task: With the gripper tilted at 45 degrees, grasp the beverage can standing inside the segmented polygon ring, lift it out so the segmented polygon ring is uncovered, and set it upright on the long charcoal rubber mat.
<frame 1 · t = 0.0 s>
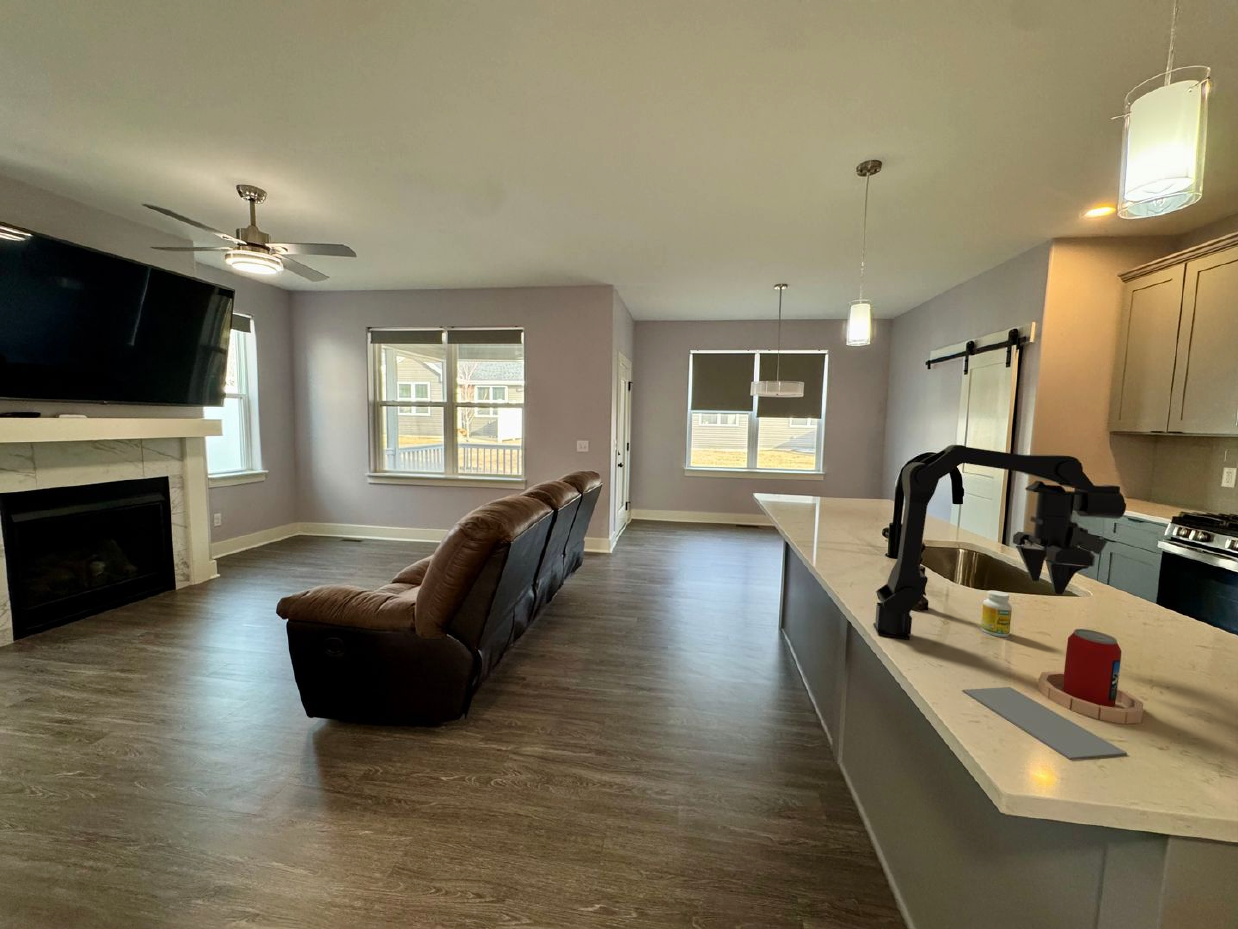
hand: (1046, 587, 102), 15 cm above the countertop, tool pointing down, fingers open, 9 cm apart
mat: (1036, 719, 79), on the countertop
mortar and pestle: (913, 607, 130), on the countertop
segmented polygon ring: (1087, 700, 85), on the countertop
supplement bottle: (994, 633, 114), on the countertop
beverage can: (1087, 702, 85), resting in segmented polygon ring
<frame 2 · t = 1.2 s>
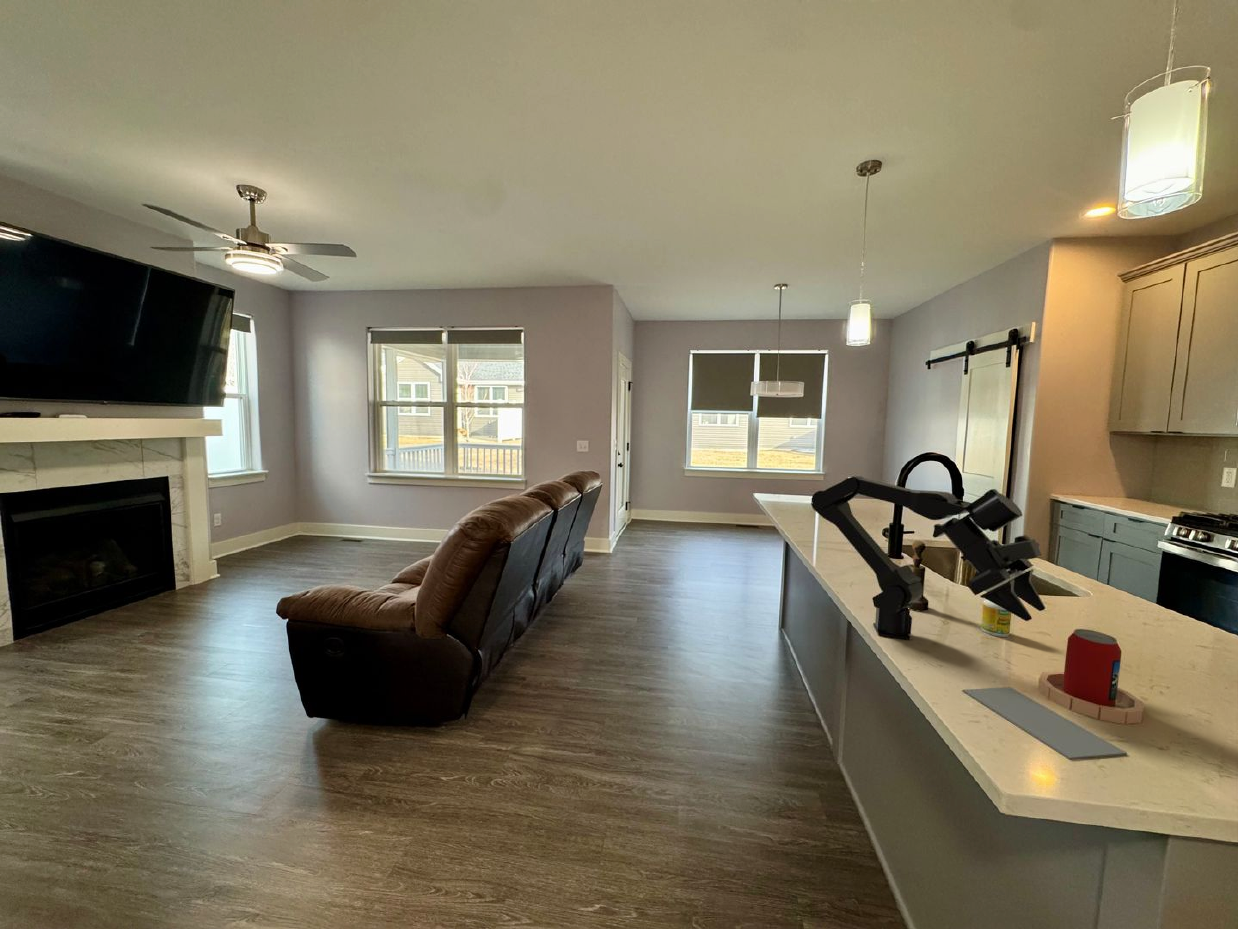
hand: (1036, 614, 91), 13 cm above the countertop, tool tilted 45°, fingers open, 9 cm apart
nothing on the countertop moved.
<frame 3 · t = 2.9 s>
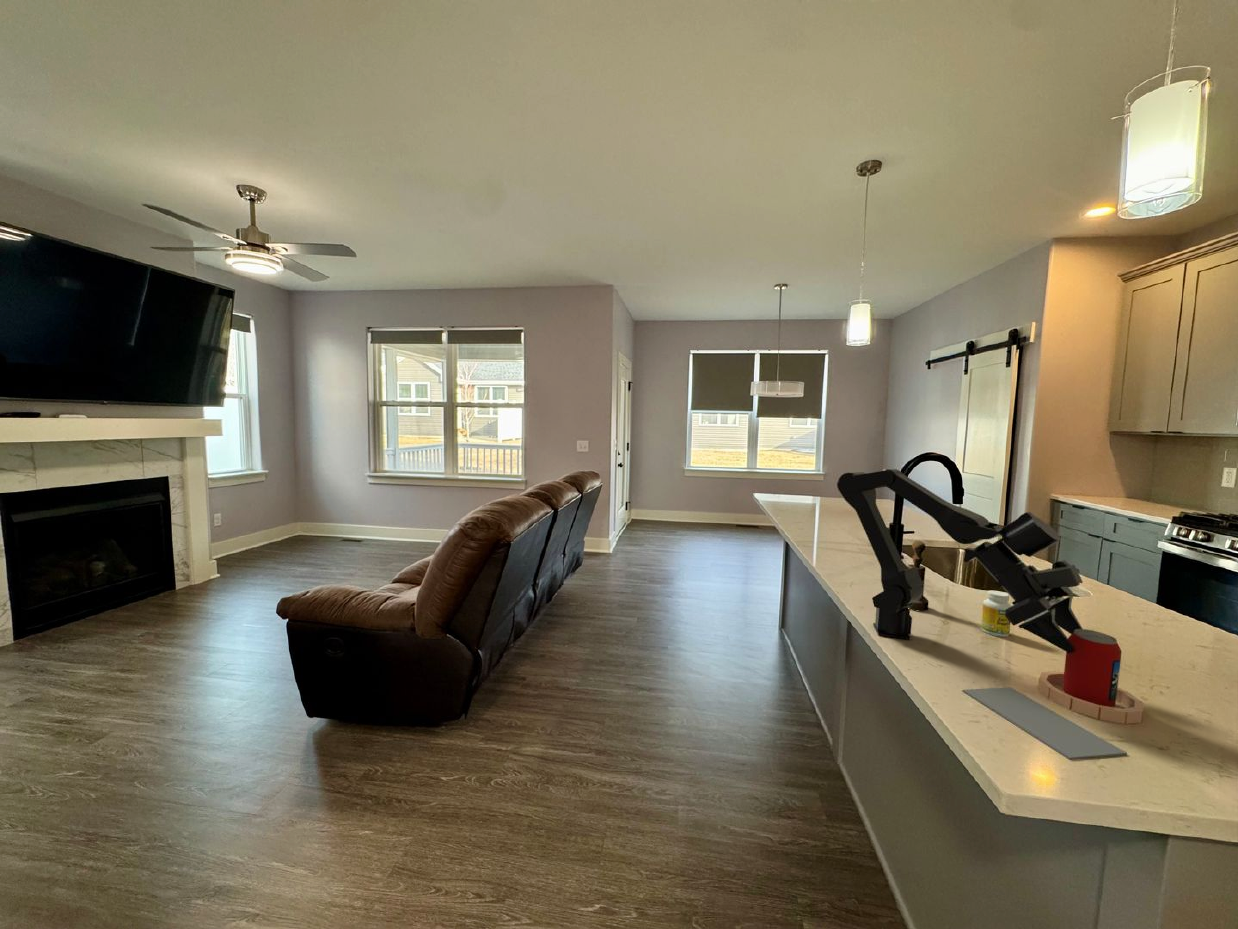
hand: (1079, 645, 86), 9 cm above the countertop, tool tilted 45°, fingers open, 9 cm apart
nothing on the countertop moved.
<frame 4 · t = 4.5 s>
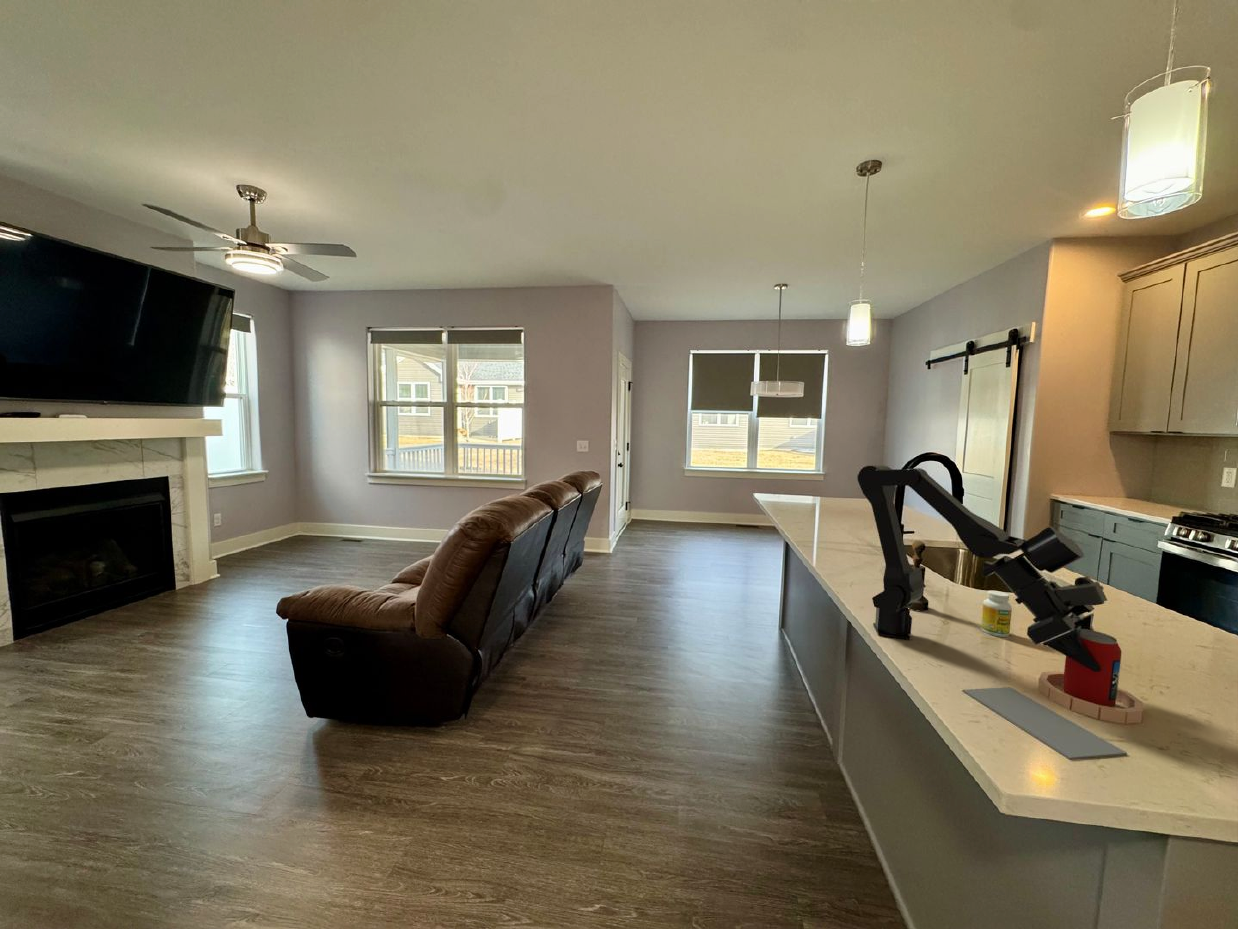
hand: (1103, 665, 83), 7 cm above the countertop, tool tilted 45°, fingers closed on beverage can, 7 cm apart
beverage can: (1087, 702, 85), resting in segmented polygon ring, touching gripper
everything else where it was.
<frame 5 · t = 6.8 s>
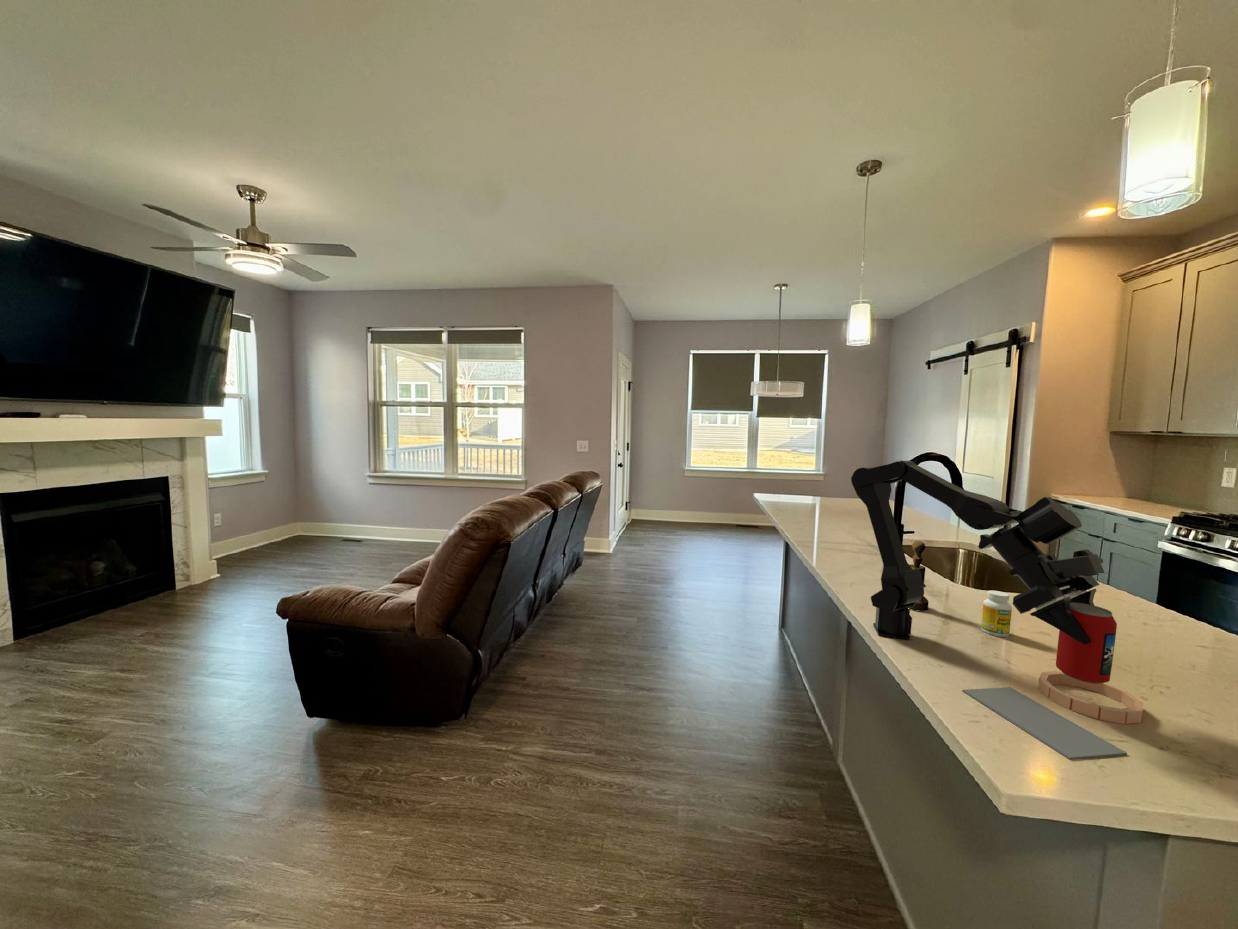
hand: (1097, 639, 80), 13 cm above the countertop, tool tilted 45°, fingers closed on beverage can, 7 cm apart
beverage can: (1081, 677, 82), point 5 cm above the countertop, touching gripper
everything else where it was.
when the fingers open (8 cm above the countertop, at t = 9.4 s): beverage can stays where it is, resting on mat.
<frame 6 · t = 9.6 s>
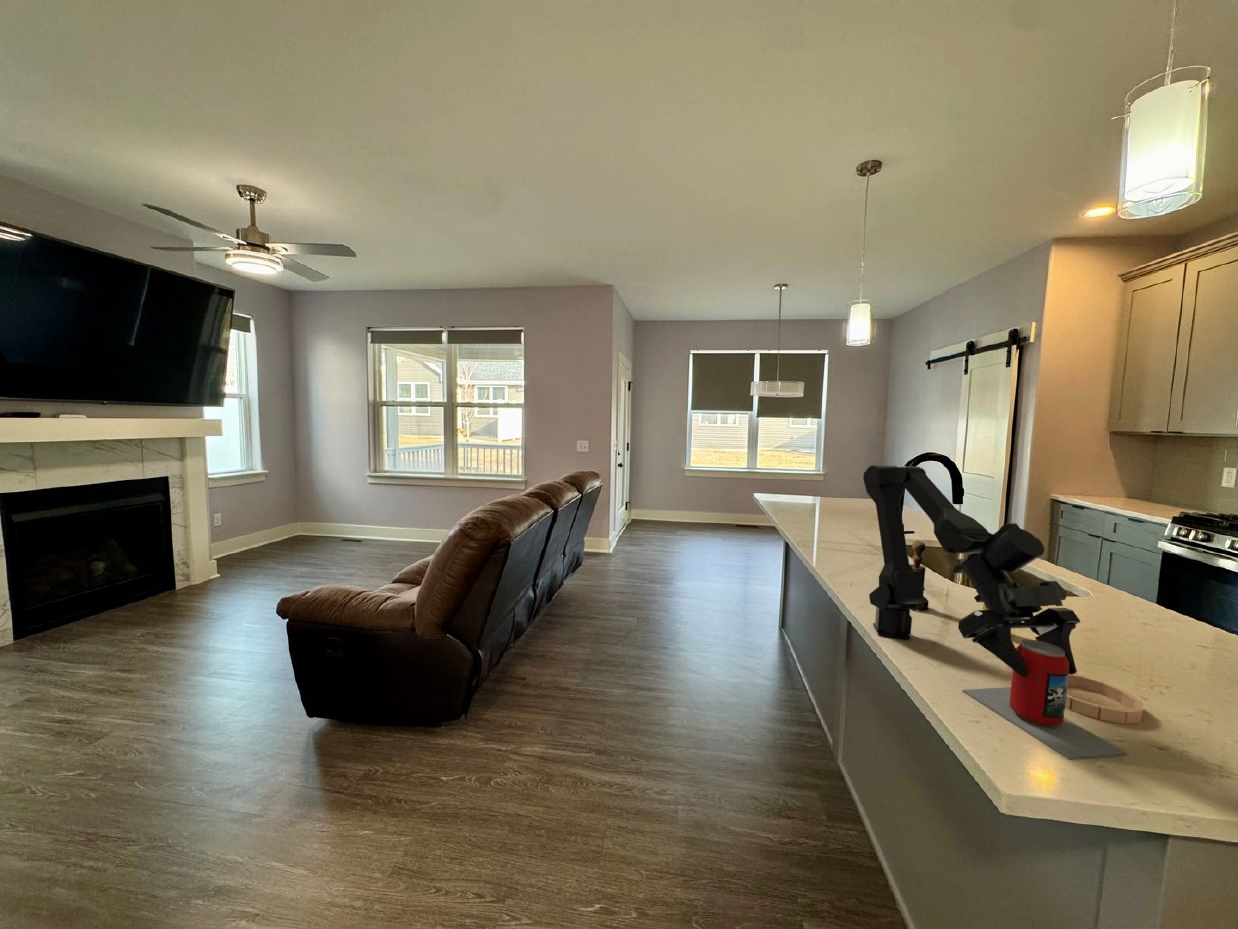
hand: (1050, 675, 77), 8 cm above the countertop, tool tilted 45°, fingers open, 9 cm apart
beverage can: (1034, 718, 79), resting on mat
everything else where it was.
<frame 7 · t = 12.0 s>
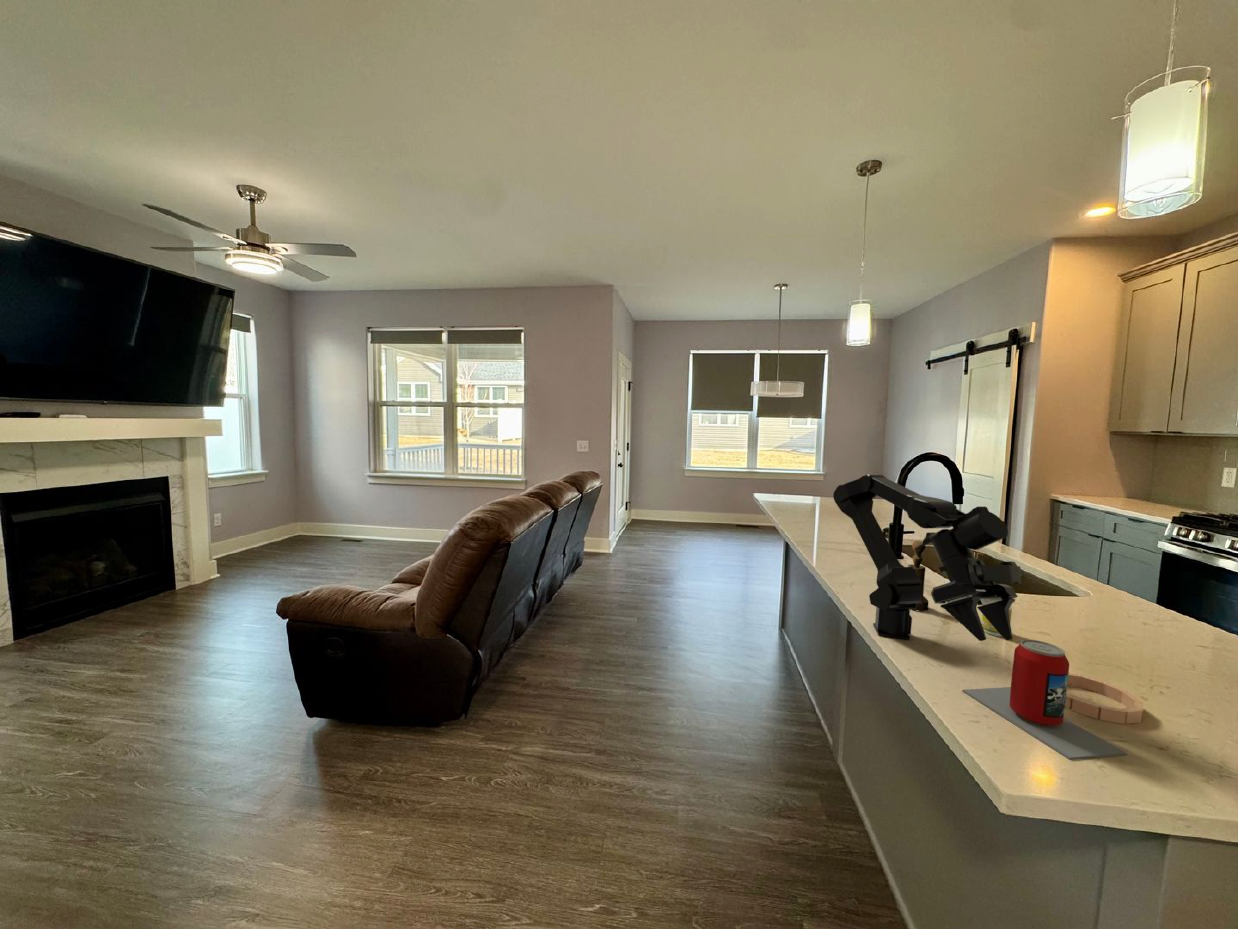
hand: (996, 640, 88), 9 cm above the countertop, tool tilted 35°, fingers open, 9 cm apart
nothing on the countertop moved.
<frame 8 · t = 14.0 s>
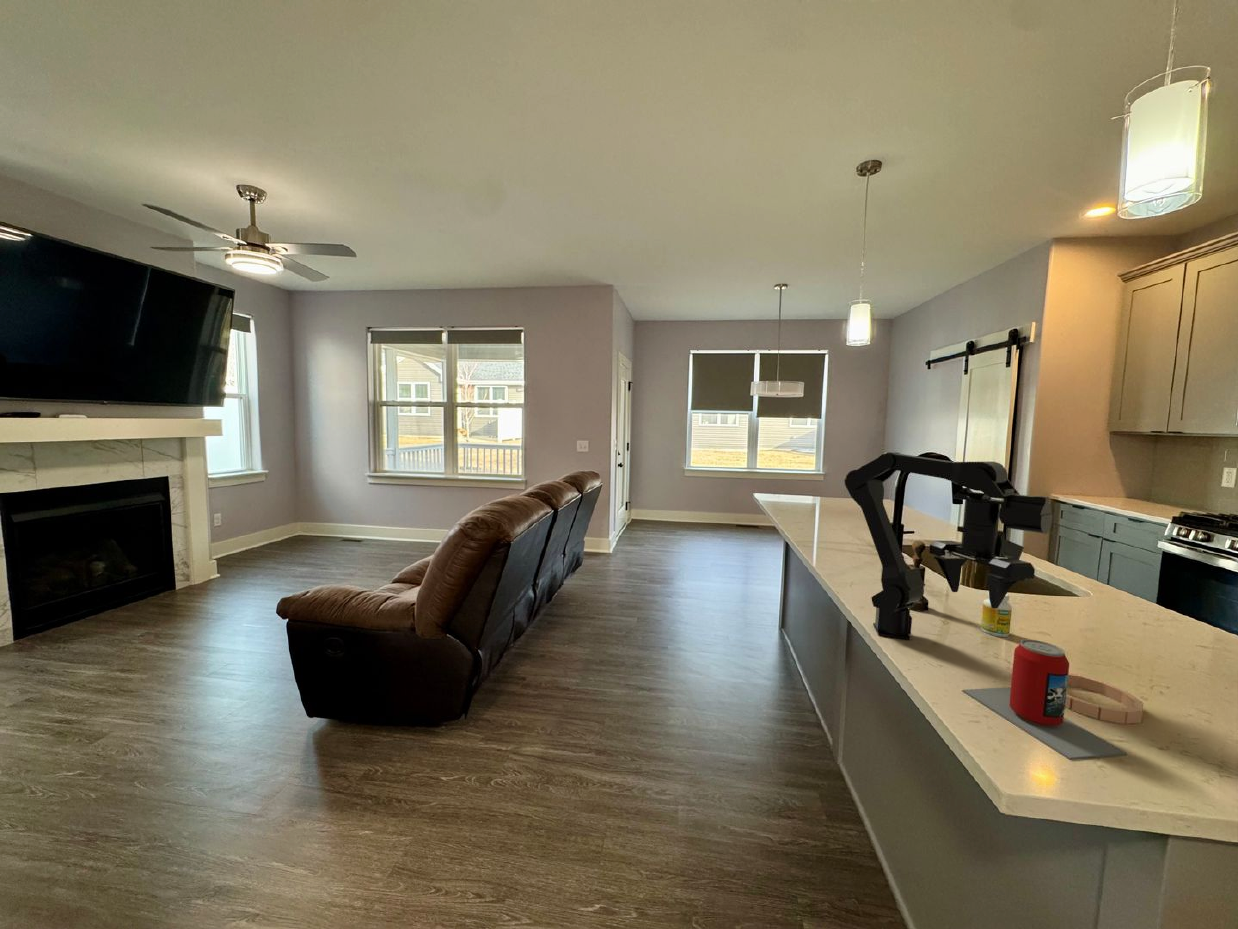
hand: (973, 599, 98), 13 cm above the countertop, tool pointing down, fingers open, 9 cm apart
nothing on the countertop moved.
at the end: beverage can inside the target area on the mat (0.1 cm from its centre), point 0.1 cm above the mat's base; beverage can tilted 0°; the gripper is holding nothing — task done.
